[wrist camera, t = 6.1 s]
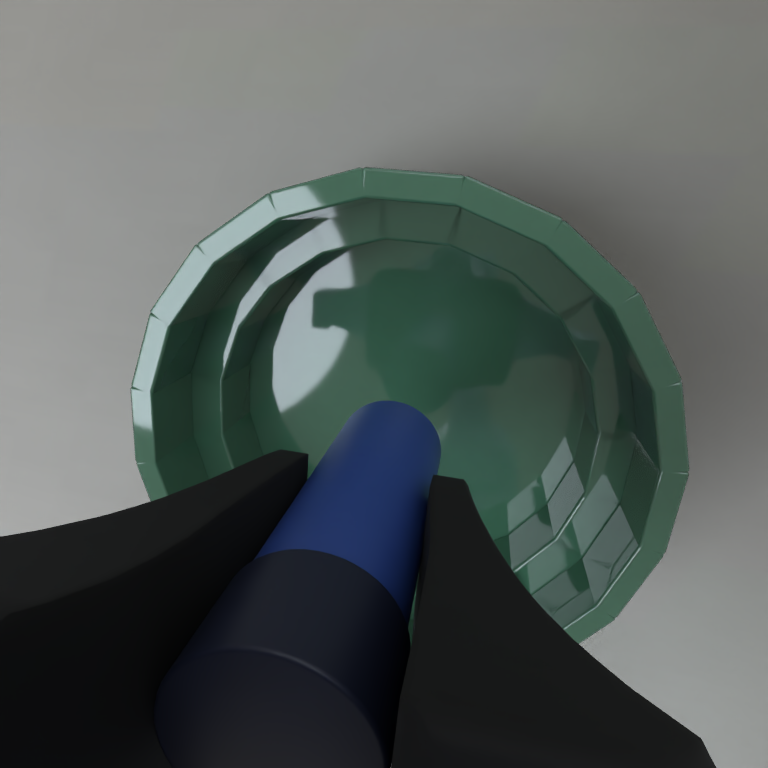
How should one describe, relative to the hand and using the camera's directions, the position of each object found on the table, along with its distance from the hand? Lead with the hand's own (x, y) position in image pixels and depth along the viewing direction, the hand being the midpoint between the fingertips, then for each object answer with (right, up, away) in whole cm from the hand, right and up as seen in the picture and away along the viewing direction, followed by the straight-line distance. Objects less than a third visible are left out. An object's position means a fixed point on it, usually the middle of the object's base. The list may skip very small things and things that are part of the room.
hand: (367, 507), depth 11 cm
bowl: (+1, +2, +6) cm, 6 cm away
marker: (+1, +1, +3) cm, 3 cm away
